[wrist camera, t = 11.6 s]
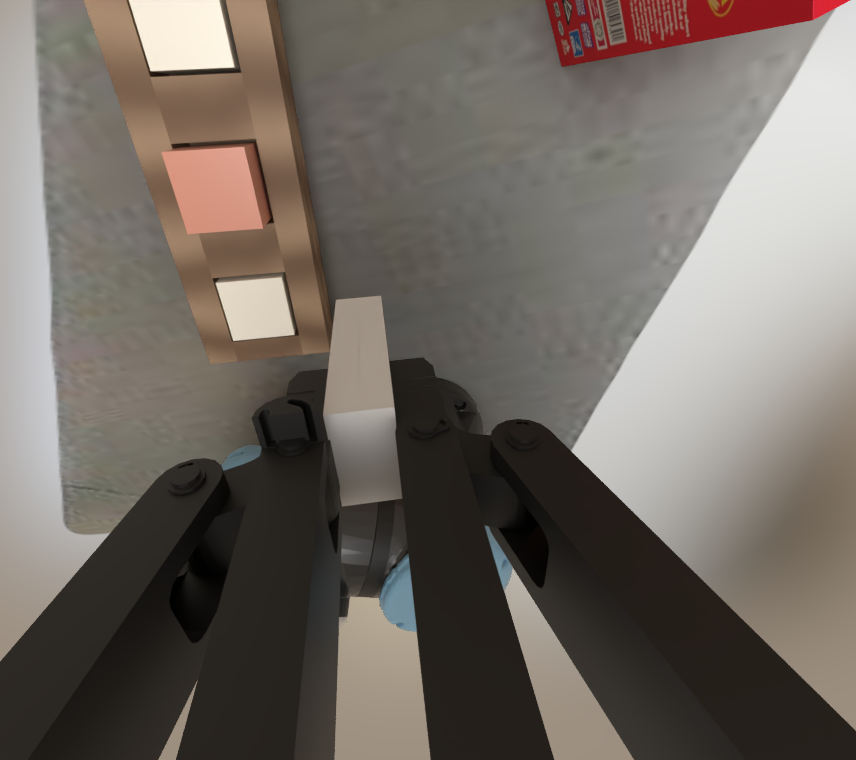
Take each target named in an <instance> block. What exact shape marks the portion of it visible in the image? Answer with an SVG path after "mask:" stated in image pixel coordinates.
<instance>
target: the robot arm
mask: <svg viewBox="0 0 856 760" xmlns="http://www.w3.org/2000/svg"><path fill="white" fill-rule="evenodd" d="M252 420H253V423H254V426H255V429H256V432H257V436H258V439H259V442H260V445H261V446H260V445H246V446H242V447H240V448H238V449H236V450H235V451H233V452H232V453H231V454H230V455H229V456H228V457H227V458H226V460H225V461H224V462H223V464H222V465H220V464H219V463H218V462H216V461H215V460H210V459H205V458H204V459H193V460H189V461H186V462H183V463H180V464H178V465H176V466H174V467H172V468H171V469H169V470H167V471H166V472H164V473H163V474H162V475H161V476H160V477H159V478H158V479H157V480H156V481H155V482H154V483H153V484H152V485H151V487H150V488H149V489H148V490H147V491H146V492H145V494H144V495H143V496H142V497H141V498H140V499H139V501H138V502H137V503H136V504H135V505H134V506H133V508H132V509H131V510H130V511H129V512H128V513H127V515H126V516H125V517H124V518H123V519H122V520H121V522H120V523H119V524H118V525H117V526H116V527H115V529H114V530H113V531H112V532H111V533H110V534H109V536H108V537H107V538H106V539H105V540H104V541H103V542H102V544H101V545H100V546H99V547H98V548H97V549H96V551H95V552H94V553H93V554H92V555H91V556H90V558H89V559H88V560H87V561H86V562H85V564H84V565H83V566H82V567H81V568H80V569H79V570H78V572H77V573H76V574H75V575H74V576H73V577H72V579H71V580H70V581H69V582H68V583H67V584H66V586H65V587H64V588H63V589H62V591H61V592H60V593H59V594H58V595H57V596H56V597H55V599H54V600H53V601H52V602H51V603H50V604H49V605H48V607H47V608H46V609H45V610H44V611H43V612H42V614H41V615H40V616H39V617H38V618H37V619H36V621H35V622H34V623H33V624H32V625H31V626H30V628H29V629H28V630H27V631H26V632H25V633H24V635H23V636H22V637H21V638H20V639H19V641H18V642H17V643H16V644H15V645H14V646H13V647H12V649H11V650H10V651H9V652H8V653H7V654H6V656H5V657H4V658H3V659H2V660H1V661H0V760H158V759H159V757H160V755H161V753H162V751H163V749H164V747H165V745H166V743H167V741H168V739H169V737H170V735H171V733H172V731H173V729H174V726H175V725H176V722H177V720H178V718H179V716H180V714H181V712H182V710H183V708H184V706H185V704H186V702H187V700H188V698H189V696H190V694H191V692H192V690H193V688H194V686H195V684H196V682H197V680H198V682H197V685H196V689H195V692H194V696H193V700H192V703H191V707H190V711H189V714H188V718H187V722H186V725H185V729H184V732H183V736H182V740H181V743H180V747H179V750H178V754H177V758H176V760H334V753H335V749H334V748H335V724H336V723H335V722H336V721H335V720H336V692H337V665H338V635H339V629H340V628H341V627H342V626H343V625H344V623H346V622H347V615H348V607H349V599H350V597H351V596H352V597H371V598H379V600H380V607H381V609H382V610H383V613H384V615H385V617H386V618H387V620H388V621H389V622H391V623H392V624H396V625H397V627H399V628H400V629H403V630H407V631H413V632H417V638H418V647H419V656H420V665H421V674H422V684H423V693H424V702H425V711H426V721H427V729H428V739H429V748H430V757H431V760H554V758H553V754H552V751H551V748H550V744H549V741H548V738H547V734H546V731H545V728H544V724H543V721H542V717H541V714H540V711H539V707H538V704H537V700H536V697H535V694H534V690H533V687H532V684H531V680H530V677H529V674H528V670H527V667H526V663H525V660H524V657H523V653H522V650H521V647H520V643H519V640H518V637H517V633H516V630H515V626H514V623H513V620H512V616H511V613H510V610H509V607H508V603H507V599H506V596H505V593H504V590H505V588H506V586H507V585H508V583H509V580H510V577H511V574H512V567H513V568H514V570H515V571H516V573H517V575H518V576H519V578H520V579H521V581H522V582H523V584H524V586H525V587H526V589H527V590H528V592H529V594H530V595H531V597H532V598H533V600H534V601H535V603H536V605H537V606H538V608H539V609H540V611H541V613H542V614H543V616H544V617H545V619H546V620H547V622H548V624H549V625H550V627H551V628H552V630H553V632H554V633H555V635H556V636H557V638H558V640H559V641H560V643H561V644H562V646H563V647H564V649H565V651H566V652H567V654H568V655H569V657H570V659H571V660H572V662H573V663H574V665H575V666H576V668H577V670H578V671H579V673H580V674H581V676H582V678H583V679H584V681H585V682H586V684H587V686H588V687H589V689H590V690H591V692H592V693H593V695H594V697H595V698H596V700H597V701H598V703H599V705H600V706H601V708H602V709H603V711H604V712H605V714H606V716H607V717H608V719H609V720H610V722H611V723H612V725H613V727H614V728H615V730H616V731H617V733H618V735H619V736H620V738H621V739H622V741H623V743H624V744H625V746H626V747H627V749H628V751H629V752H630V754H631V755H632V757H633V758H634V760H856V731H855V730H854V729H853V728H852V727H851V726H850V725H849V724H848V723H847V722H846V721H845V720H844V719H843V718H842V717H841V716H840V715H839V714H838V713H837V712H836V711H835V710H834V709H833V708H832V707H831V706H830V705H829V704H828V703H827V702H826V701H825V700H824V699H823V698H822V697H821V696H820V695H819V694H818V693H817V692H816V691H815V690H814V689H813V688H812V687H811V686H809V685H808V684H807V683H806V682H805V681H804V680H803V679H802V678H801V677H800V676H799V675H798V674H797V673H796V672H795V671H794V670H793V669H792V668H791V667H790V666H789V665H788V664H787V663H786V662H785V661H784V660H783V659H782V658H781V657H780V656H779V655H778V654H777V653H776V652H775V651H774V650H773V649H772V648H771V647H770V646H769V645H768V644H767V643H766V642H765V641H764V640H763V639H762V638H761V637H760V636H759V635H758V634H757V633H755V632H754V631H753V629H752V628H750V627H749V626H748V625H747V624H746V623H745V622H744V621H743V620H742V619H741V618H740V617H739V616H738V615H737V614H736V613H735V612H734V611H733V610H732V609H731V608H730V607H729V606H728V605H727V604H726V603H725V602H724V601H723V600H722V599H721V598H720V597H719V596H718V595H717V594H716V593H715V592H714V591H713V590H712V589H711V588H710V587H709V586H708V585H707V584H706V583H705V582H704V581H703V580H702V579H700V577H699V576H698V575H697V574H695V573H694V572H693V571H692V570H691V569H690V568H689V567H688V566H687V565H686V564H685V563H684V562H683V561H682V560H681V559H680V558H679V557H678V556H677V555H676V554H675V553H674V552H673V551H672V550H671V549H670V548H669V547H668V546H667V545H666V544H665V543H664V542H663V541H662V540H661V539H660V538H659V537H658V536H657V535H656V534H655V533H654V532H652V530H651V529H650V528H649V527H647V525H646V524H645V523H644V522H643V521H642V520H640V519H639V518H638V517H637V516H636V515H635V514H634V513H633V512H632V511H631V510H630V509H629V508H628V507H627V506H626V505H625V504H624V503H623V502H622V501H621V500H620V499H619V498H618V497H617V496H616V495H615V494H614V493H613V492H612V491H611V490H610V489H609V488H608V487H607V486H606V485H605V484H604V483H603V482H601V480H600V479H599V478H598V477H596V475H594V473H592V471H591V470H590V469H589V468H588V467H586V466H585V465H584V464H583V463H582V462H581V461H580V460H579V459H578V458H577V457H576V456H575V455H574V454H573V453H572V452H571V451H570V450H569V449H568V448H567V447H566V446H565V445H564V444H563V443H562V442H561V441H560V440H559V439H558V438H557V437H556V436H555V435H554V434H553V433H552V432H551V431H550V430H549V429H547V428H546V427H544V426H543V425H541V424H539V423H536V422H533V421H531V420H522V419H515V420H508V421H505V422H503V423H501V424H498V425H497V426H496V427H495V428H494V429H493V431H492V434H491V435H483V425H482V420H481V417H480V414H479V412H478V409H477V407H476V404H475V402H474V401H473V399H472V398H471V397H470V395H469V394H468V393H467V392H466V391H464V390H463V389H462V388H461V387H459V386H457V385H455V384H454V383H451V382H449V381H446V380H443V379H438V378H436V376H435V372H434V369H433V366H432V365H431V364H430V363H429V362H428V361H426V360H425V359H424V358H415V359H405V360H396V361H389V358H388V350H387V341H386V333H385V325H384V316H383V308H382V300H381V296H372V297H362V298H351V299H340V300H336V304H335V313H334V322H333V331H332V340H331V348H330V357H329V366H328V369H322V370H313V371H303V372H299V373H298V374H297V375H296V376H295V377H294V378H293V379H292V380H291V381H290V382H289V385H288V389H287V395H286V397H283V398H278V399H275V400H273V401H271V402H268V403H266V404H264V405H263V406H262V407H260V408H259V409H258V410H257V411H256V412H255V414H254V415H253V417H252Z"/></svg>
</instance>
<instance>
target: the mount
mask: <svg viewBox="0 0 856 760" xmlns="http://www.w3.org/2000/svg"><path fill="white" fill-rule="evenodd" d="M84 2H85V5H86V8H87V11H88V14H89V17H90V20H91V22H92V25H93V28H94V31H95V34H96V37H97V40H98V43H99V45H100V48H101V51H102V54H103V57H104V60H105V63H106V66H107V68H108V71H109V74H110V77H111V80H112V83H113V86H114V89H115V91H116V94H117V97H118V100H119V103H120V106H121V109H122V112H123V114H124V117H125V120H126V123H127V126H128V129H129V132H130V135H131V138H132V140H133V143H134V146H135V149H136V152H137V155H138V158H139V161H140V163H141V166H142V169H143V172H144V175H145V178H146V181H147V184H148V186H149V189H150V192H151V195H152V198H153V201H154V204H155V207H156V209H157V212H158V215H159V218H160V221H161V224H162V227H163V230H164V232H165V235H166V238H167V241H168V244H169V247H170V250H171V253H172V255H173V258H174V261H175V264H176V267H177V270H178V273H179V276H180V279H181V281H182V284H183V287H184V290H185V293H186V296H187V299H188V302H189V304H190V307H191V310H192V313H193V316H194V319H195V322H196V325H197V327H198V330H199V333H200V336H201V339H202V342H203V345H204V348H205V350H206V353H207V356H208V359H209V362H210V364H216V363H226V362H236V361H245V360H255V359H265V358H275V357H285V356H294V355H304V354H314V353H324V352H330V347H331V338H332V329H333V323H332V317H331V311H330V306H329V300H328V294H327V288H326V283H325V277H324V271H323V265H322V259H321V254H320V248H319V242H318V236H317V230H316V225H315V219H314V213H313V207H312V201H311V196H310V190H309V184H308V178H307V173H306V167H305V161H304V155H303V149H302V144H301V138H300V132H299V126H298V120H297V115H296V109H295V103H294V97H293V91H292V86H291V80H290V74H289V68H288V63H287V57H286V51H285V45H284V39H283V34H282V28H281V22H280V16H279V10H278V5H277V0H226V4H227V9H228V13H229V18H230V22H231V27H232V32H233V36H234V41H235V45H236V50H237V54H238V59H239V64H240V68H241V72H221V73H200V74H178V75H171V74H165V73H159V72H153V71H150V68H149V64H148V61H147V58H146V55H145V51H144V48H143V45H142V41H141V38H140V35H139V32H138V28H137V25H136V22H135V19H134V15H133V12H132V9H131V6H130V2H129V0H84ZM241 143H256V145H257V150H258V154H259V159H260V163H261V168H262V172H263V177H264V181H265V186H266V191H267V195H268V200H269V204H270V209H271V213H272V218H271V219H270V220H269V221H268V223H267V224H266V225H265V227H264V228H263V229H250V230H237V231H224V232H211V233H198V234H187V231H186V227H185V224H184V221H183V218H182V215H181V212H180V209H179V206H178V203H177V199H176V196H175V193H174V190H173V187H172V184H171V181H170V178H169V175H168V171H167V168H166V165H165V162H164V159H163V156H162V153H161V152H163V151H168V150H172V149H176V148H180V147H191V146H207V145H224V144H241ZM279 272H285V274H286V278H287V283H288V287H289V292H290V296H291V301H292V306H293V310H294V315H295V319H296V324H297V328H296V331H295V335H289V336H279V337H269V338H258V339H248V340H238V341H233V338H232V335H231V332H230V328H229V325H228V322H227V319H226V315H225V312H224V309H223V306H222V302H221V299H220V296H219V292H218V289H217V286H216V282H217V281H218V279H219V278H220V277H232V276H244V275H255V274H267V273H279Z"/></svg>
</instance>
